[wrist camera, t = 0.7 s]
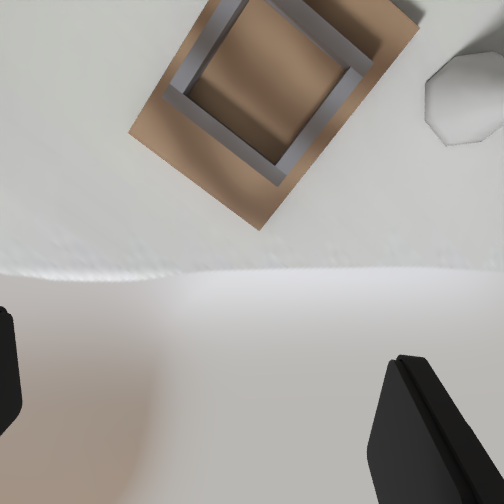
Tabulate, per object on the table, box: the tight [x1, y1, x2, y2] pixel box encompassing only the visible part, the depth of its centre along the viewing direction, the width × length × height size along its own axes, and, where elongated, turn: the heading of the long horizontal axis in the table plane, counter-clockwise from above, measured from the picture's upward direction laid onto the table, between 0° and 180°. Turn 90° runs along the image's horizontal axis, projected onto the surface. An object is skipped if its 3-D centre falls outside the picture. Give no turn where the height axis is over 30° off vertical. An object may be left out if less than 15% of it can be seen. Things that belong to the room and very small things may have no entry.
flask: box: [425, 51, 504, 146], centre depth 27 cm, size 7×7×10 cm
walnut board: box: [128, 0, 420, 231], centre depth 30 cm, size 20×14×4 cm
